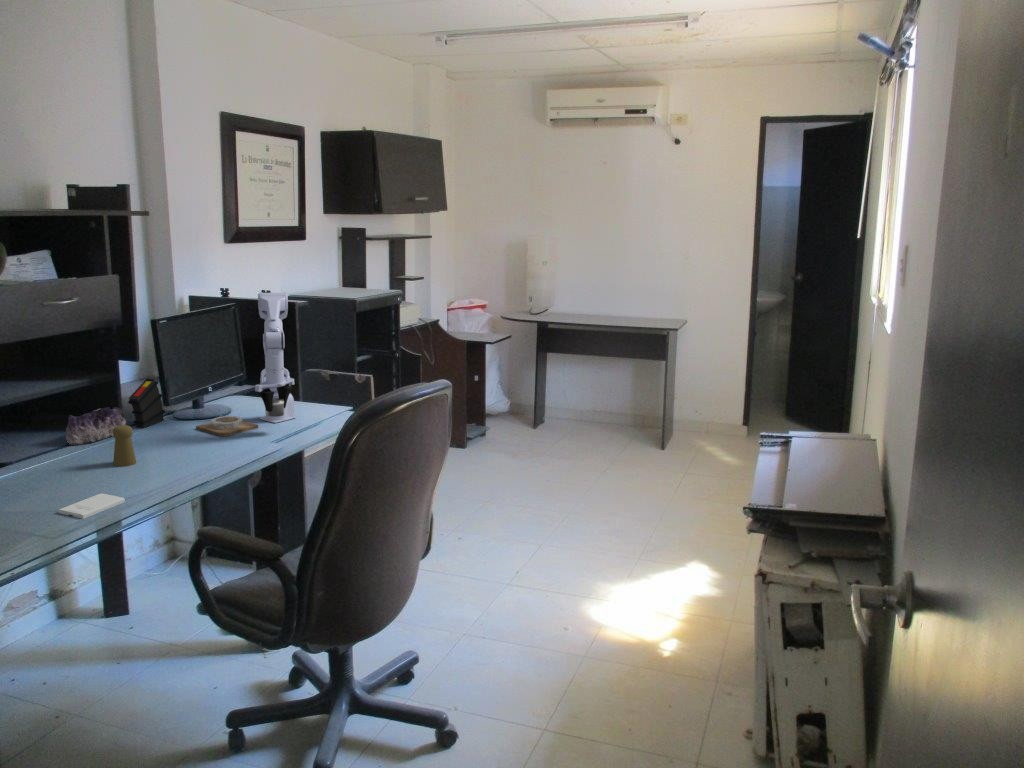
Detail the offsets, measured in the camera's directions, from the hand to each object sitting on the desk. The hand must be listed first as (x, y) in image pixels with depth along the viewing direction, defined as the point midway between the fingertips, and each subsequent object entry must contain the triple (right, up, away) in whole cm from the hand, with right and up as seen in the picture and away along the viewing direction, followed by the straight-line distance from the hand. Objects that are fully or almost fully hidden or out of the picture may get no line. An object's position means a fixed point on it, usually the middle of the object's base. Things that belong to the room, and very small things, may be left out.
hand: (275, 409), depth 268 cm
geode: (-54, -9, -10) cm, 55 cm away
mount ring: (-17, -6, +5) cm, 19 cm away
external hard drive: (-26, -23, -66) cm, 74 cm away
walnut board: (-17, -6, +5) cm, 19 cm away
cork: (-34, -15, -33) cm, 49 cm away
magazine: (-44, -6, +6) cm, 45 cm away
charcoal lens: (0, -2, 0) cm, 2 cm away
